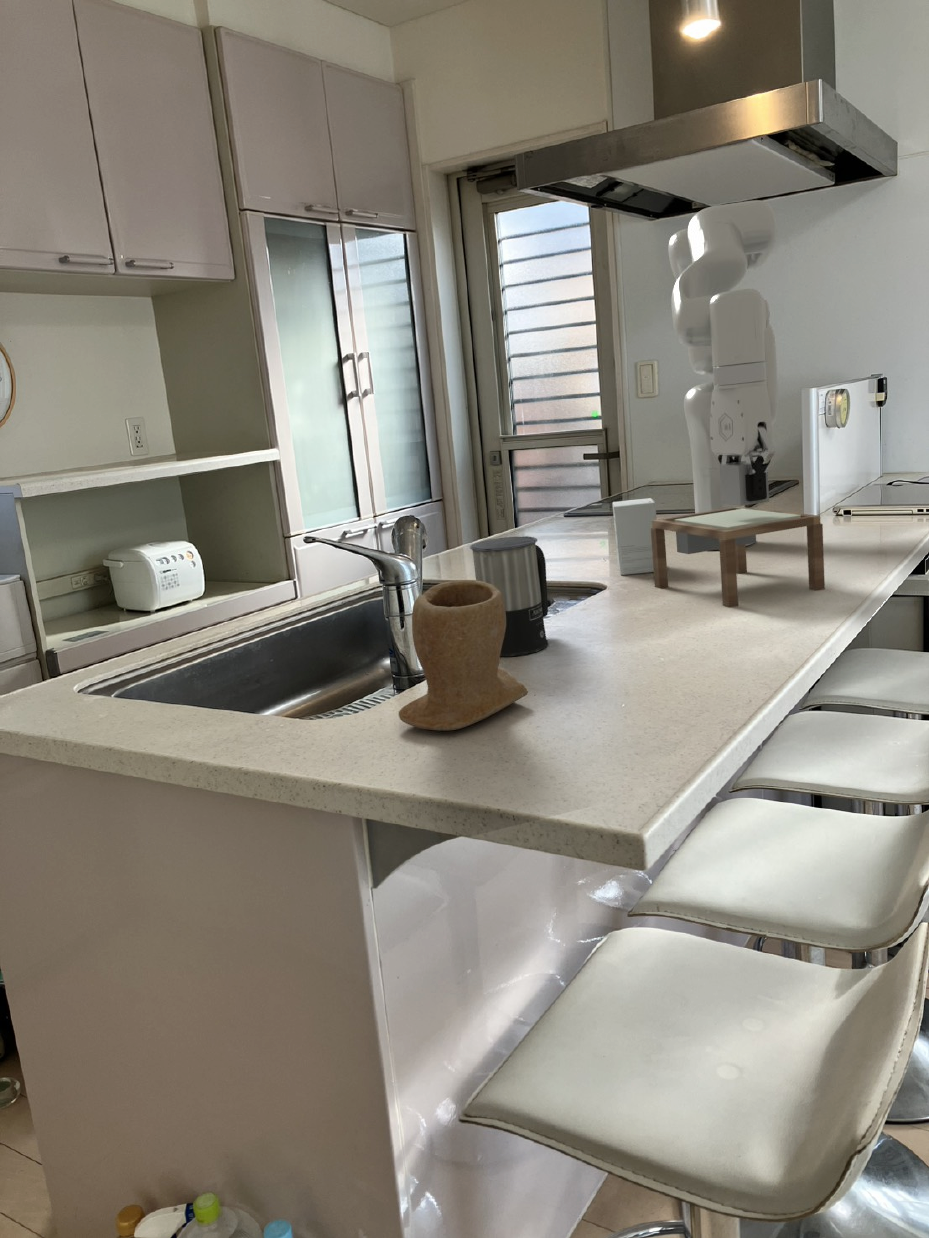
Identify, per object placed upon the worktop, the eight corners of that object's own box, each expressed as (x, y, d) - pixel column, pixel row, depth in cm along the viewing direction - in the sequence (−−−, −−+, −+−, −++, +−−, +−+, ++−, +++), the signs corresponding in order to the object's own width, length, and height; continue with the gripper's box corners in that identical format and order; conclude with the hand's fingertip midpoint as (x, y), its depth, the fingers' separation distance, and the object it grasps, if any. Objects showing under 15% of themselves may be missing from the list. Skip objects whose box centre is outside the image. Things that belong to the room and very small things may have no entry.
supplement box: (657, 565, 188) (652, 497, 185) (660, 572, 181) (655, 501, 178) (617, 568, 189) (611, 501, 186) (619, 575, 182) (613, 505, 179)
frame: (654, 586, 169) (650, 520, 166) (741, 570, 173) (738, 506, 171) (728, 607, 148) (724, 532, 146) (824, 588, 153) (822, 515, 151)
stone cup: (466, 746, 102) (449, 601, 98) (385, 730, 110) (367, 595, 107) (557, 703, 112) (545, 570, 109) (478, 691, 120) (464, 567, 117)
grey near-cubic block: (721, 503, 156) (719, 464, 155) (749, 499, 158) (747, 460, 156) (740, 506, 151) (738, 465, 150) (769, 501, 153) (767, 461, 152)
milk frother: (542, 656, 133) (531, 544, 130) (427, 661, 137) (414, 553, 133) (557, 630, 146) (548, 528, 143) (452, 635, 150) (440, 537, 147)
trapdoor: (676, 552, 164) (674, 519, 163) (744, 540, 168) (743, 508, 166) (729, 562, 150) (727, 527, 149) (802, 549, 154) (800, 515, 152)
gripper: (687, 382, 157) (694, 498, 161) (751, 377, 141) (757, 506, 145) (728, 377, 159) (734, 492, 163) (796, 371, 144) (801, 499, 148)
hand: (745, 497), depth 154 cm, fingers closed on grey near-cubic block, 5 cm apart
